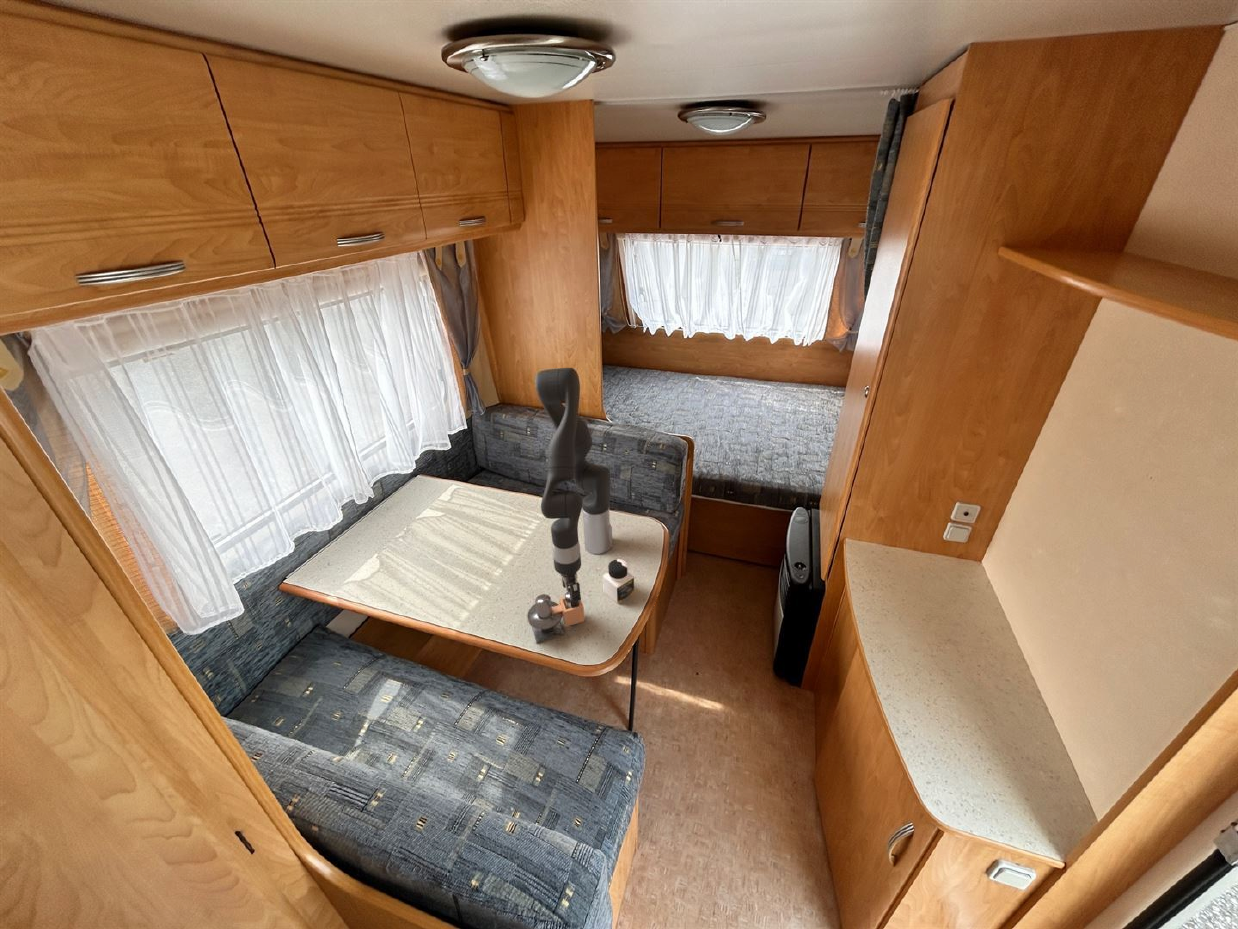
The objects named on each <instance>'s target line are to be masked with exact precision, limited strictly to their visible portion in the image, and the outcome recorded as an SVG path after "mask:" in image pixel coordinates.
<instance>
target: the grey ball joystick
mask: <svg viewBox="0 0 1238 929" xmlns="http://www.w3.org/2000/svg"><path fill="white" fill-rule="evenodd" d="M558 605H559V604H558V602H555V601H552V598H551V596H550V595H548V594H540V595H538V596H536V598H535V600H534V604H533V605H532V606H531V607H530V608H529V610H528V611H527V622H528V624H529V625H530V626H531V628H532V632H533V636H534V640H535V642H536V644H539V643H542V642H545V641H549V640H552V639H556V638H559V637H562V636H564V631H563V628H562V626H561V623H560V622H561V620H563V618H562V612H560V613H557V614H553V615H552V607H554V606H558Z"/></svg>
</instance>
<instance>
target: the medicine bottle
mask: <svg viewBox="0 0 1238 929" xmlns="http://www.w3.org/2000/svg"><path fill="white" fill-rule="evenodd" d="M607 566H608V568H607V569H608V572H606V573H605V574H602V585H603V590H602V591H603V593H604V594H606V596H608V597H609V598H610V599H611V600H613V601H614V602H615V603H616V604H620V603H621V602H623V601H624V600H626V599H627V598H629V597H630V596H632V595H633V594H634V593H635V576H634V575H632V574H631V573H630V572H629V565H628V562H626V561H625V560H624V559H618V558H616V559H613V560H612V561H610V562H609V563H608V565H607Z"/></svg>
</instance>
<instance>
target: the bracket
mask: <svg viewBox="0 0 1238 929" xmlns="http://www.w3.org/2000/svg"><path fill="white" fill-rule="evenodd" d="M558 602H559V604H558V606H554V607H552V615H553V614H557V613H560V612H562V621H563V624H564V626H565V627H568V626H569V627H570V626H571V625H573V624H576V623H577V624H579V623H582V622H585V611H584V610H585V609H584V605H583V602H582V599H581V600H580V601H579V606H578V607H575V608H569V609H566V600H565V596H562V597H559V598H558ZM577 624H576V625H577Z"/></svg>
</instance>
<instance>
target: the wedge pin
mask: <svg viewBox="0 0 1238 929" xmlns="http://www.w3.org/2000/svg"><path fill="white" fill-rule="evenodd" d="M564 594H565V595H564V597H565V600H566V609H569V608H572V607H571V602H570V596H569V592H568V591H566V593H564ZM577 624H578V623H576V624H573V625H570V626H571V627H572V626H576V625H577Z"/></svg>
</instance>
